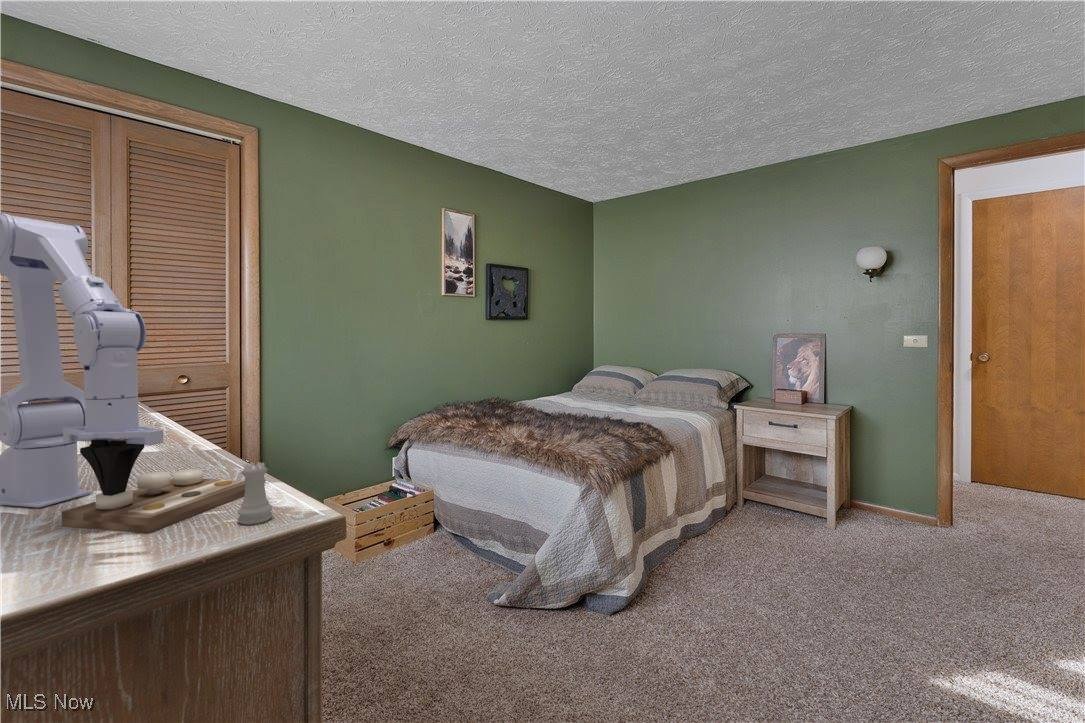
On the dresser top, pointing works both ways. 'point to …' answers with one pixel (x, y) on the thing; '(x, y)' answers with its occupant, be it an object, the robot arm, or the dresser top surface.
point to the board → (157, 507)
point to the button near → (114, 500)
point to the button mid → (153, 481)
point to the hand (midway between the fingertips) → (114, 493)
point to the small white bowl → (188, 477)
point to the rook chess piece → (254, 496)
